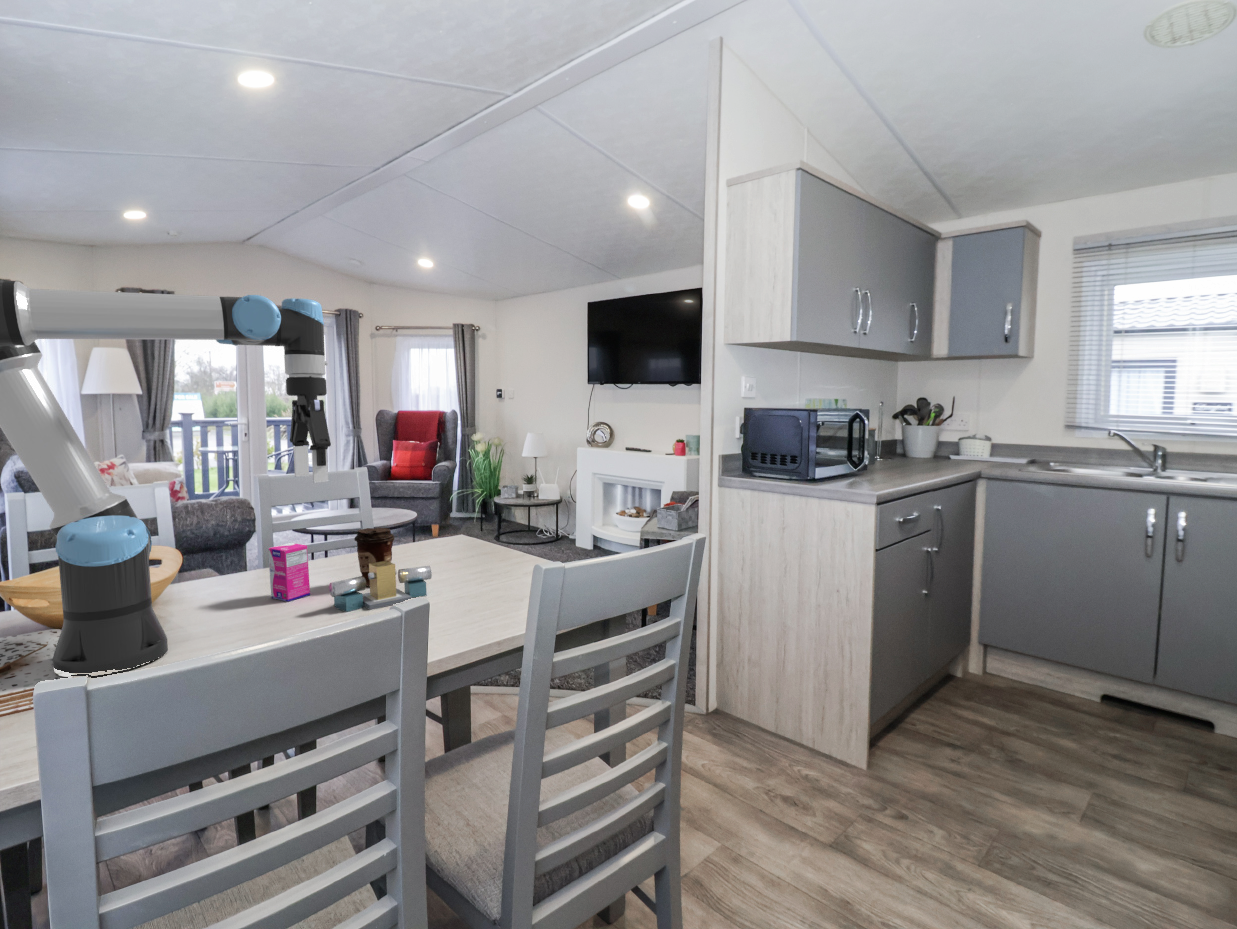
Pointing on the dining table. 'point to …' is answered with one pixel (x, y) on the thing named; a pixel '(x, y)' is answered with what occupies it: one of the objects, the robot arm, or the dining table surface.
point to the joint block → (382, 580)
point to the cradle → (384, 600)
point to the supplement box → (289, 572)
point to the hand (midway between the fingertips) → (311, 479)
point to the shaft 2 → (415, 580)
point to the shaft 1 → (348, 593)
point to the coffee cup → (373, 548)
